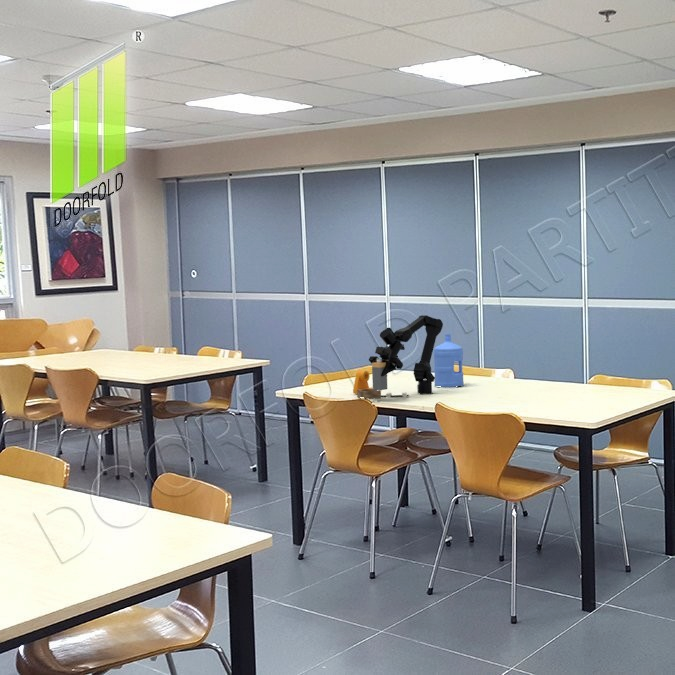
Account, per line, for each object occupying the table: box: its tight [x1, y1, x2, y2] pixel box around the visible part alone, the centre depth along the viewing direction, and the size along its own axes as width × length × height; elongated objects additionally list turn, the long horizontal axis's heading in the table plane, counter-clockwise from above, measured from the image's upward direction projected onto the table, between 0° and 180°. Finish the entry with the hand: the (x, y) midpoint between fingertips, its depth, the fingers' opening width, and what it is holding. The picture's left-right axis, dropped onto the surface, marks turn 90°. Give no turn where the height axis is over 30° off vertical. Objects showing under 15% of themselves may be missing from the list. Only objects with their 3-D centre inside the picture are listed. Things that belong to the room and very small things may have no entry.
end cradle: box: [356, 389, 382, 400], centre depth 460 cm, size 10×10×4 cm
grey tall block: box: [371, 358, 388, 391], centre depth 446 cm, size 5×5×14 cm
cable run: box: [381, 394, 410, 398], centre depth 459 cm, size 15×2×1 cm, turn 83°
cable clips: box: [385, 392, 408, 398], centre depth 459 cm, size 10×4×2 cm, turn 86°
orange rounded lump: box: [352, 370, 373, 395], centre depth 475 cm, size 11×7×12 cm
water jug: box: [433, 333, 465, 388], centre depth 496 cm, size 16×16×28 cm
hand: (377, 375), depth 445 cm, fingers closed on grey tall block, 5 cm apart
